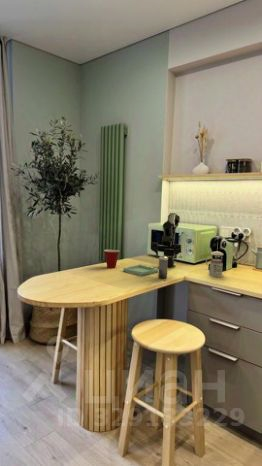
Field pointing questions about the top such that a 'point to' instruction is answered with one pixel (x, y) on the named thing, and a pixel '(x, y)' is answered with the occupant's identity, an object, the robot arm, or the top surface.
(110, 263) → the plastic cup
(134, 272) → the tray
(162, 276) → the cylinder
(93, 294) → the top surface
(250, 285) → the top surface
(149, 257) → the top surface
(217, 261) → the french press
